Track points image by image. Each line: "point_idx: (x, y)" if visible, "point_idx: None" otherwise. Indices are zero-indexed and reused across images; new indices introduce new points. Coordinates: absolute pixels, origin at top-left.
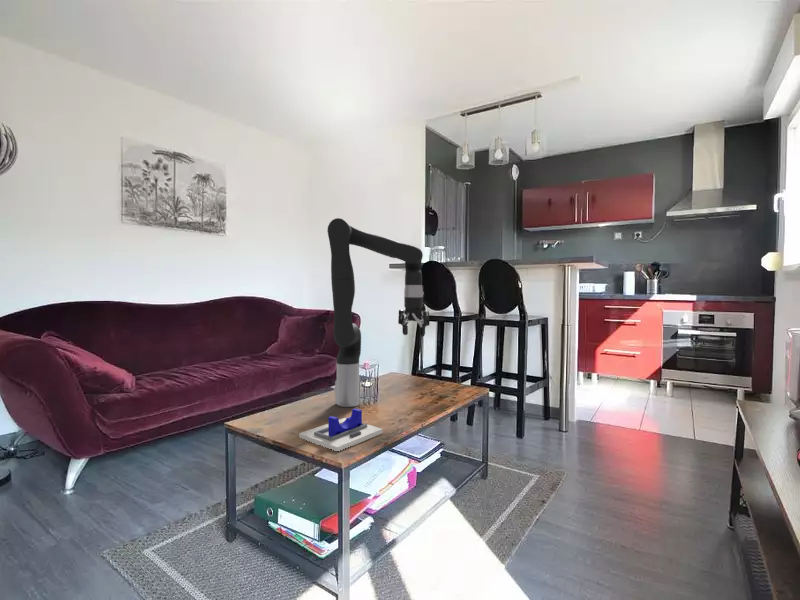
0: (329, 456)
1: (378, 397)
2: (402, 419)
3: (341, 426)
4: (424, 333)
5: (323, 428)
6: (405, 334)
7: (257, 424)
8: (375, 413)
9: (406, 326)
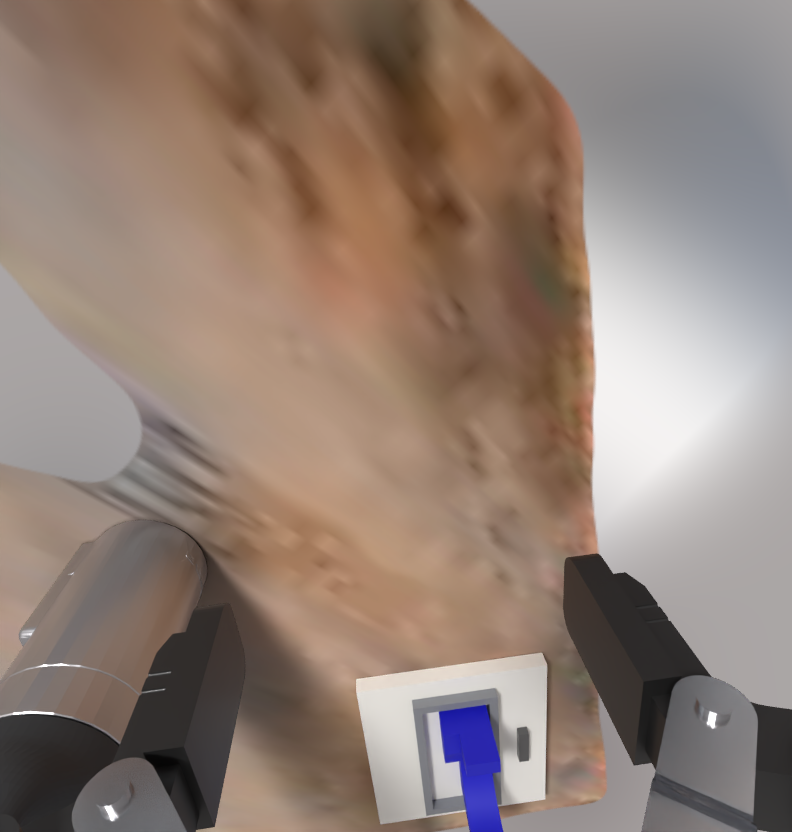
0: (544, 803)
1: (128, 386)
2: (499, 525)
3: (461, 764)
4: (647, 607)
5: (396, 773)
6: (239, 650)
7: None
8: (355, 555)
9: (197, 767)
